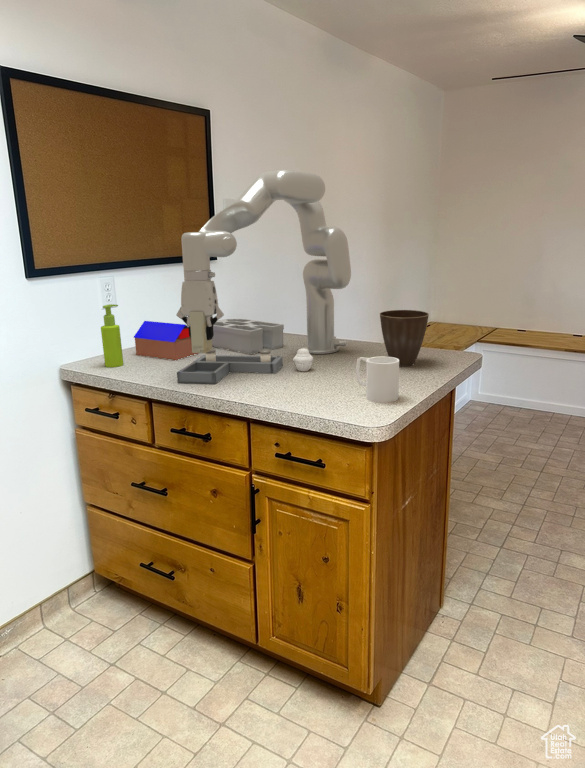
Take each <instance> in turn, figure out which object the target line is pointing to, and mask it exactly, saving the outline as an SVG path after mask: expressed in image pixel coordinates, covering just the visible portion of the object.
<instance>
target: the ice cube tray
mask: <svg viewBox="0 0 585 768" xmlns="http://www.w3.org/2000/svg"><path fill="white" fill-rule="evenodd" d="M284 327H285V325H284V324H283V323H276V322H269V321H262V320H254V319H247V318H227V319H219V320H218V321H217V322H216V323H215V324H214V325H213V332H214V336H213V337H212V347H213V346H214V348H216V347H218V348H217V349H220V348H223V349H222V350H226V349H229V350H228V351H231V350H234V351H233V352H236V351H240V352H239V353H241V352H245V353H244V354H246V353H249V354H248V355H251V354H252V355H255V354H254V353H256V354H259V353H258V352H260V350H263V349H268V348H269V350H277V349H279V348H280V349H282V348H283V347H284ZM263 347H265V348H263Z"/></svg>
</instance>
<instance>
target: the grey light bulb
mask: <svg viewBox="0 0 585 768" xmlns="http://www.w3.org/2000/svg"><path fill="white" fill-rule="evenodd" d="M216 350H217V348H213V347H212V350H211V351H209V352H207V353H204V355H206V361H216V355H217V354H216V352H217V351H216Z"/></svg>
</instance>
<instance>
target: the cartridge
mask: <svg viewBox="0 0 585 768" xmlns="http://www.w3.org/2000/svg"><path fill="white" fill-rule="evenodd" d="M271 350H272V349H268V348H263V350H260V353H259V356H260V360H261V362H269V363H271V355H272V354H271V353H272V351H271Z"/></svg>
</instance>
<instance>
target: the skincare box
mask: <svg viewBox="0 0 585 768" xmlns="http://www.w3.org/2000/svg"><path fill="white" fill-rule="evenodd" d="M189 313H190V328H191V343H192V353H198V354H205V353H207V352H209V351H211V350H212V348H213V346H212V339H211V340H207V335H206V327H207V321H206V318H205V316H204V312H189Z"/></svg>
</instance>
